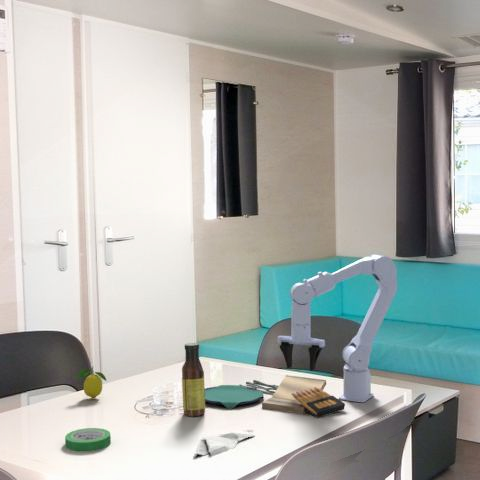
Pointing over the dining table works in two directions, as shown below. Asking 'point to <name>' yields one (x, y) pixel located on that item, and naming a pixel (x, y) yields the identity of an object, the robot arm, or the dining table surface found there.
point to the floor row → (284, 405)
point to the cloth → (221, 442)
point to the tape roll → (78, 443)
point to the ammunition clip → (319, 402)
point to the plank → (296, 386)
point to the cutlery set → (237, 394)
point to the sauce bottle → (193, 382)
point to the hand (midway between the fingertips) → (300, 368)
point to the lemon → (92, 383)
